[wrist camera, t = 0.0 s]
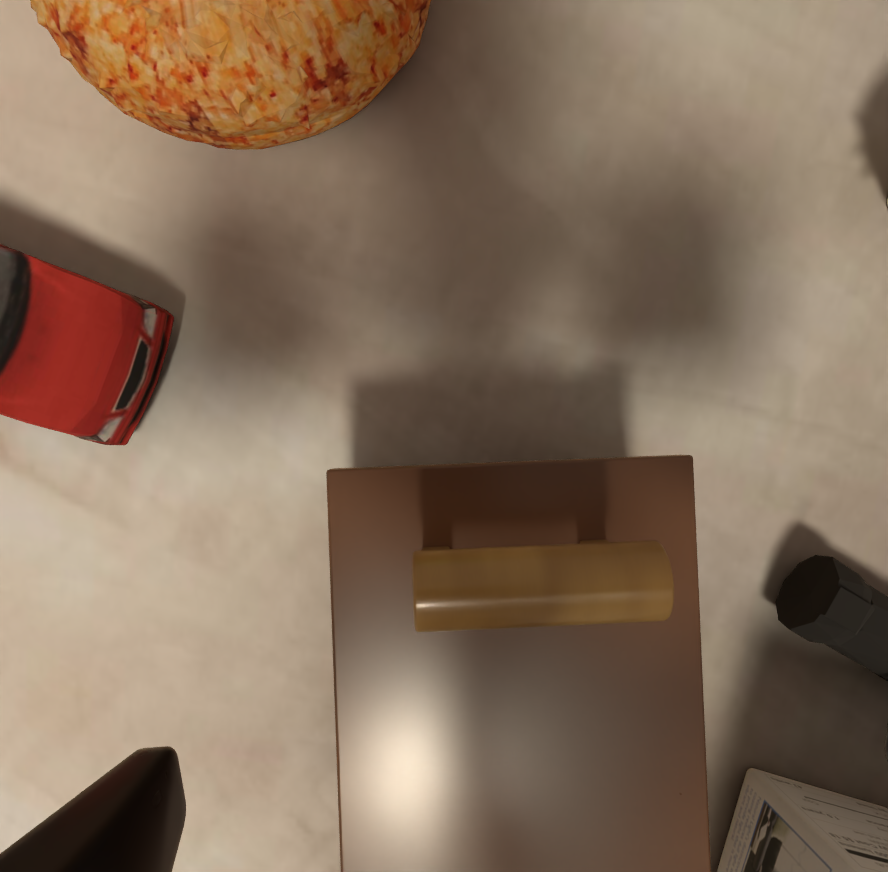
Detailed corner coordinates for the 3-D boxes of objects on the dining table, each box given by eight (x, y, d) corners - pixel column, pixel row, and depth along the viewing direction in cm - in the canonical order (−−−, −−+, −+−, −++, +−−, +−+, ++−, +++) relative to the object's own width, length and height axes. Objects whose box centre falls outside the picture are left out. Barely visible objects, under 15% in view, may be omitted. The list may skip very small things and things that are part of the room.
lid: (330, 468, 17) (291, 477, 12) (681, 454, 18) (783, 458, 13) (345, 891, 17) (312, 1075, 12) (699, 871, 17) (810, 1043, 12)
